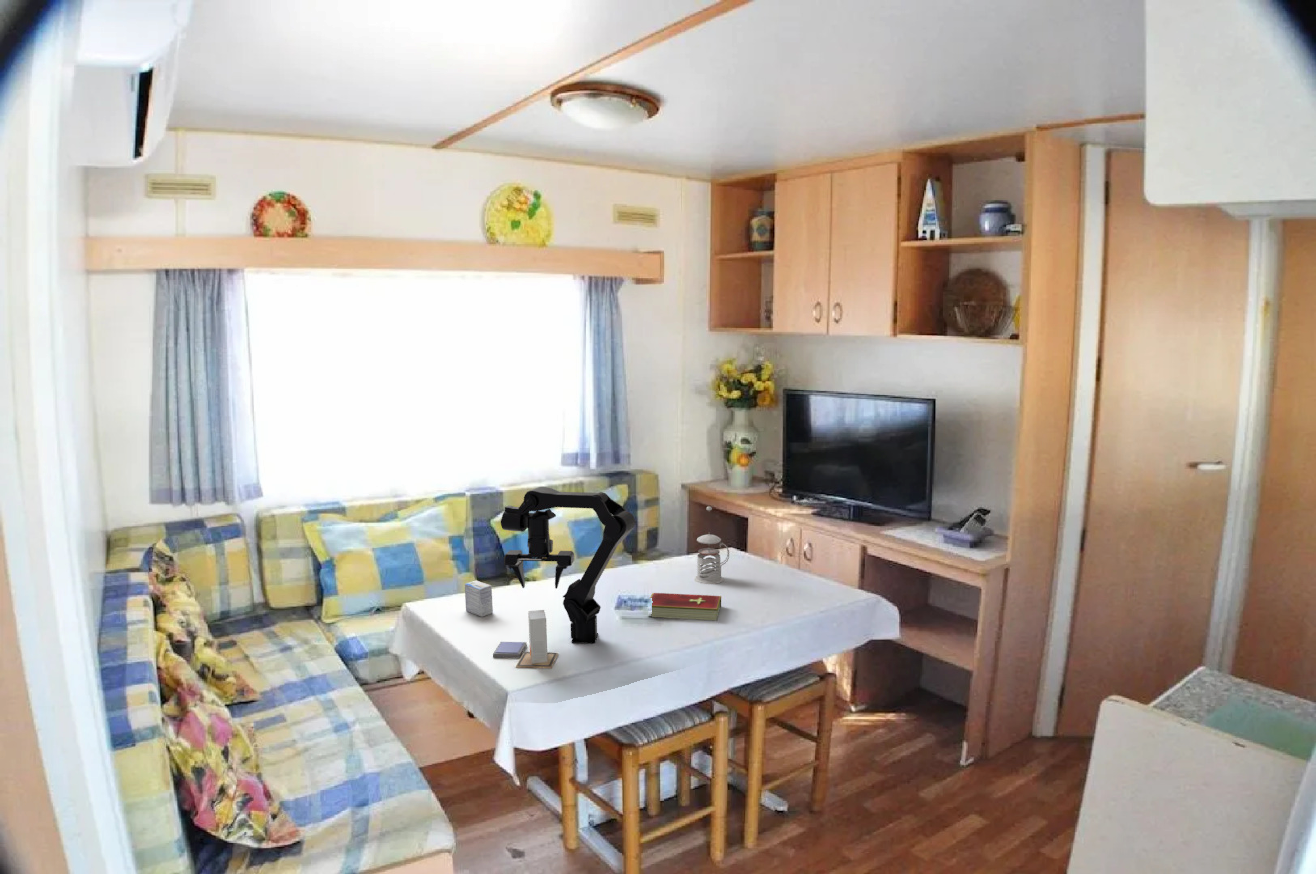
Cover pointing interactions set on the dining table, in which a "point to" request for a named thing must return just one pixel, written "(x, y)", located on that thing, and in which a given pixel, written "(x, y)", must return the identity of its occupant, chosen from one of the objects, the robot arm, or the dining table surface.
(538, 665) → the marked board
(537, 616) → the skincare box
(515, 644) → the ink pad
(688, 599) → the hardcover book
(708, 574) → the french press
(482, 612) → the medicine box
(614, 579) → the dining table surface
